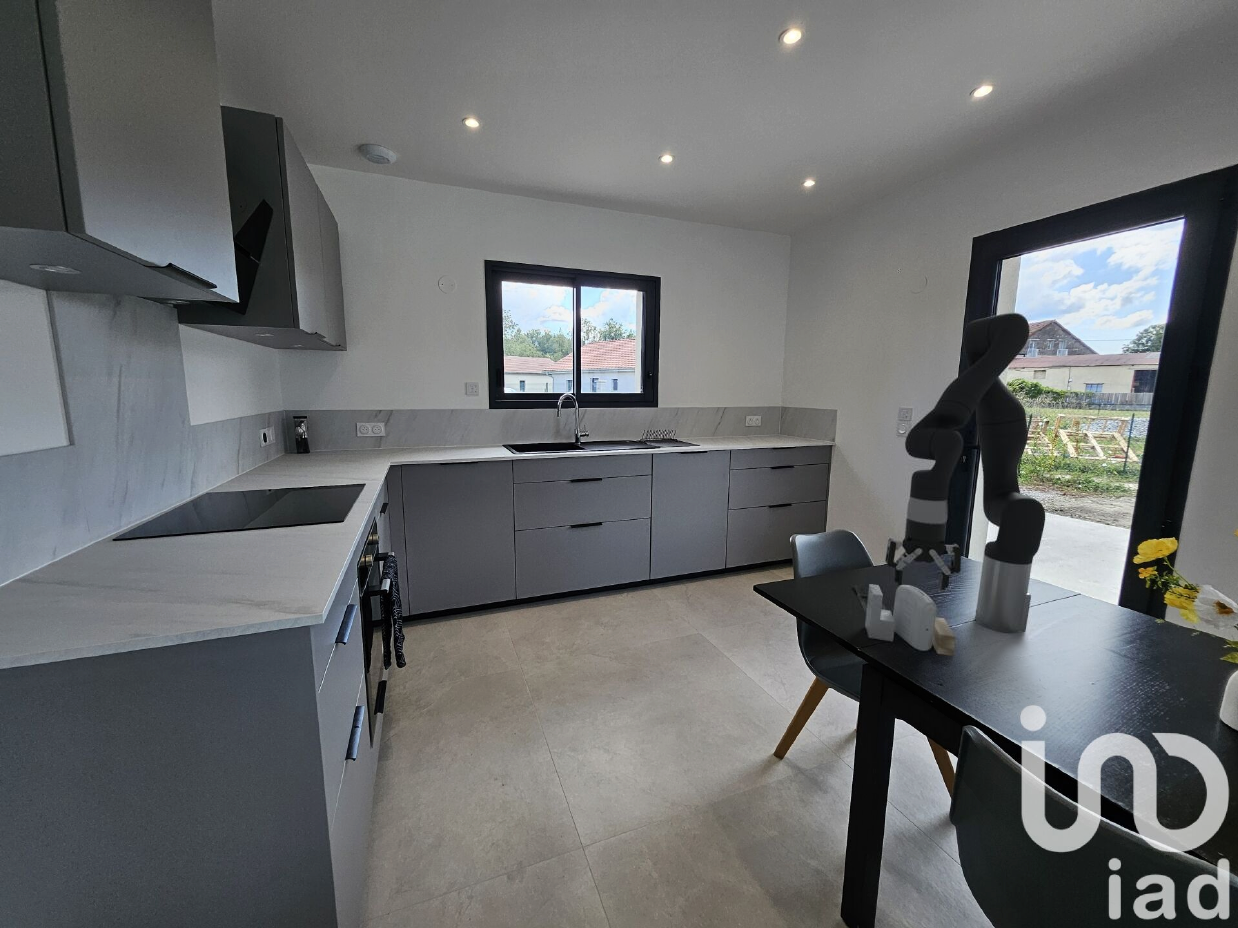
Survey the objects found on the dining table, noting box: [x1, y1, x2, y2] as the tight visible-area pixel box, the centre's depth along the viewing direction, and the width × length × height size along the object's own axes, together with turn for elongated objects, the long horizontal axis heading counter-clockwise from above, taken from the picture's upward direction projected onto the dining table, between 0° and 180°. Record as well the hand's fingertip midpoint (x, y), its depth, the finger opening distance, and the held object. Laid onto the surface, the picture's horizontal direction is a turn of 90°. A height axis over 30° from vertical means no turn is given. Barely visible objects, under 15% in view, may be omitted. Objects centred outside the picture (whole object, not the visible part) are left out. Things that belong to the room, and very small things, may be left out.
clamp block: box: [932, 616, 957, 657], centre depth 110 cm, size 3×9×4 cm, turn 160°
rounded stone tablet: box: [892, 584, 938, 652], centre depth 111 cm, size 10×4×12 cm, turn 3°
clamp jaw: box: [864, 583, 895, 643], centre depth 114 cm, size 5×6×11 cm
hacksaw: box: [852, 584, 893, 616], centre depth 129 cm, size 24×10×2 cm, turn 164°
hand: (919, 586), depth 110 cm, fingers open, 8 cm apart
